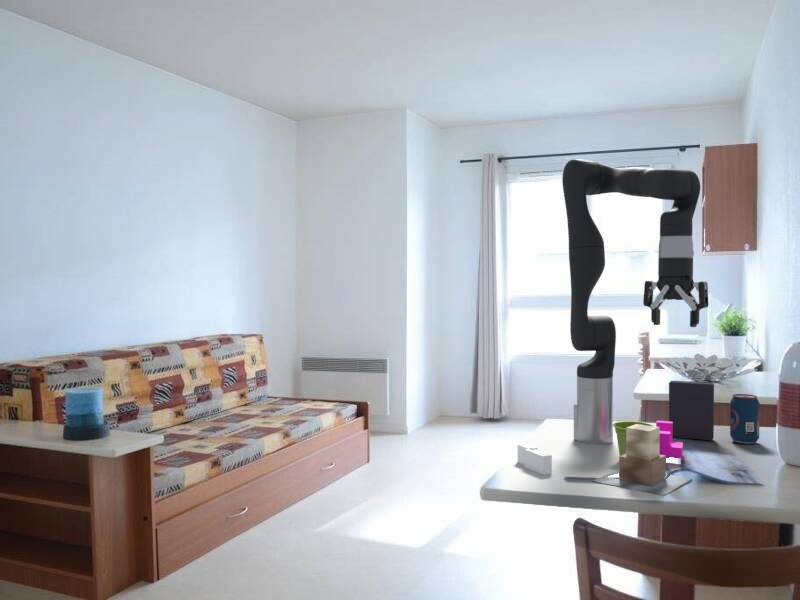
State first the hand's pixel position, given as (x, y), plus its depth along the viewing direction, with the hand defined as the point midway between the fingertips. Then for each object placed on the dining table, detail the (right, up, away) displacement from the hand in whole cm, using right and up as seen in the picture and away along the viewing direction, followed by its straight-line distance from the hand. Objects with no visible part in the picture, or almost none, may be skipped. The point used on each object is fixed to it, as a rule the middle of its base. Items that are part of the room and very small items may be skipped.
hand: (674, 325), depth 163 cm
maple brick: (-13, -27, -17) cm, 34 cm away
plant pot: (-9, -32, +1) cm, 34 cm away
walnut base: (-13, -33, -16) cm, 39 cm away
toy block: (0, -32, +5) cm, 33 cm away
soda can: (+27, -31, +21) cm, 46 cm away
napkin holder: (-34, -33, -5) cm, 47 cm away
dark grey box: (+15, -31, +26) cm, 43 cm away
